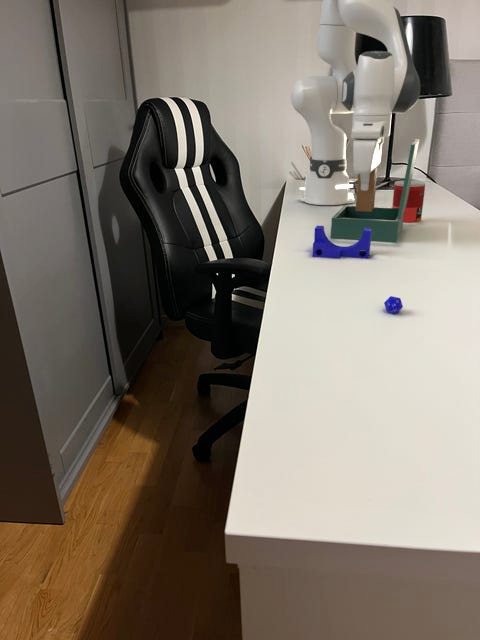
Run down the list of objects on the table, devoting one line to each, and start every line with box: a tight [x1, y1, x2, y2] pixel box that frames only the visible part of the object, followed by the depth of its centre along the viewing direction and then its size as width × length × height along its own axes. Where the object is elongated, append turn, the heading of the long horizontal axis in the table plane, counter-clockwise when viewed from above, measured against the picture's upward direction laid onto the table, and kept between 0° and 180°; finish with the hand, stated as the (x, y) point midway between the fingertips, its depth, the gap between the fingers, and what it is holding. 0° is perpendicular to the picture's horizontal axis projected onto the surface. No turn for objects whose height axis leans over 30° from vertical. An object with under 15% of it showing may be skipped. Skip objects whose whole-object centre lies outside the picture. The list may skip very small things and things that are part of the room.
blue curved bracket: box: [312, 225, 372, 259], centre depth 110 cm, size 12×4×6 cm, turn 71°
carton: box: [355, 167, 378, 212], centre depth 124 cm, size 4×4×10 cm
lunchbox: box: [330, 205, 404, 244], centre depth 126 cm, size 16×17×6 cm
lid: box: [397, 138, 420, 220], centre depth 119 cm, size 16×17×1 cm
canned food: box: [391, 179, 426, 224], centre depth 138 cm, size 8×8×11 cm
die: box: [383, 295, 404, 315], centre depth 81 cm, size 3×3×3 cm
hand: (366, 188), depth 123 cm, fingers closed on carton, 4 cm apart
